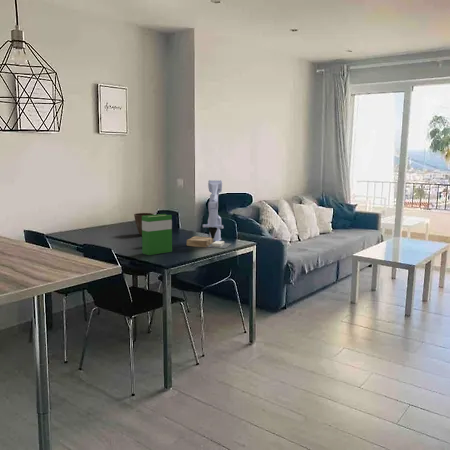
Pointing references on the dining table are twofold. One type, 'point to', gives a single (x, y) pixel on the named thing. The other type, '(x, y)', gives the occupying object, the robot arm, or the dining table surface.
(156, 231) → the green cereal box
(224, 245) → the charcoal mat
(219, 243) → the cream tile
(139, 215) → the plant pot
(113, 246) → the dining table surface
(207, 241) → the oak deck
